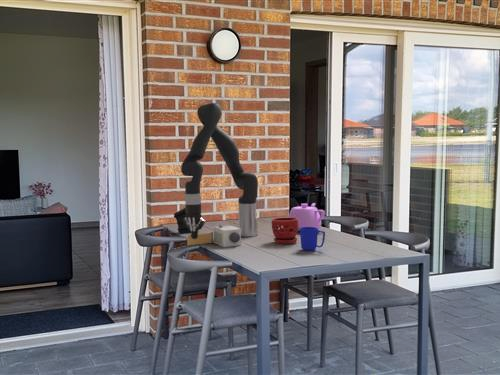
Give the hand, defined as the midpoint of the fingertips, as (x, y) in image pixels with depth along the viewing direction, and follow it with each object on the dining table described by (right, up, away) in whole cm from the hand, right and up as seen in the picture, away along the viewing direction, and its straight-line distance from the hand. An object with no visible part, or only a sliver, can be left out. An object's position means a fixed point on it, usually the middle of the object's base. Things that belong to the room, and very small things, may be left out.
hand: (194, 238), depth 277 cm
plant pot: (+44, -3, +7) cm, 45 cm away
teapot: (+57, 0, +43) cm, 71 cm away
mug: (+56, -4, -13) cm, 57 cm away
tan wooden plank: (+2, -3, +5) cm, 6 cm away
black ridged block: (-8, 0, +39) cm, 40 cm away
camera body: (+16, -3, +4) cm, 16 cm away
